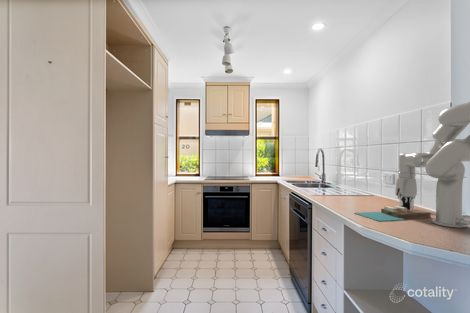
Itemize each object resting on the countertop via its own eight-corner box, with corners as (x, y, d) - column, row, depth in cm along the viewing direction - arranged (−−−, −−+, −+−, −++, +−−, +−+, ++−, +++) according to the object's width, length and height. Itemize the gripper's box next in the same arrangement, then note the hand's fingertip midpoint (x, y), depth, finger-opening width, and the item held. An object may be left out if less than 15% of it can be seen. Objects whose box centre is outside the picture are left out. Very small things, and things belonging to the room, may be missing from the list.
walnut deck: (430, 217, 137) (430, 212, 137) (402, 219, 132) (402, 214, 132) (407, 211, 150) (407, 207, 150) (381, 213, 146) (381, 208, 146)
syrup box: (398, 207, 163) (398, 184, 163) (405, 207, 165) (405, 184, 165) (407, 209, 157) (407, 185, 157) (414, 209, 159) (414, 185, 159)
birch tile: (398, 209, 145) (398, 205, 145) (407, 211, 139) (407, 208, 139) (384, 209, 143) (384, 206, 143) (392, 212, 137) (392, 208, 137)
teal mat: (405, 220, 130) (405, 219, 130) (379, 221, 127) (379, 220, 127) (377, 212, 148) (377, 211, 148) (354, 213, 144) (354, 212, 144)
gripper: (412, 175, 147) (411, 207, 147) (389, 175, 144) (389, 208, 144) (424, 176, 140) (423, 210, 140) (401, 176, 136) (400, 211, 136)
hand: (406, 209), depth 142 cm, fingers closed
